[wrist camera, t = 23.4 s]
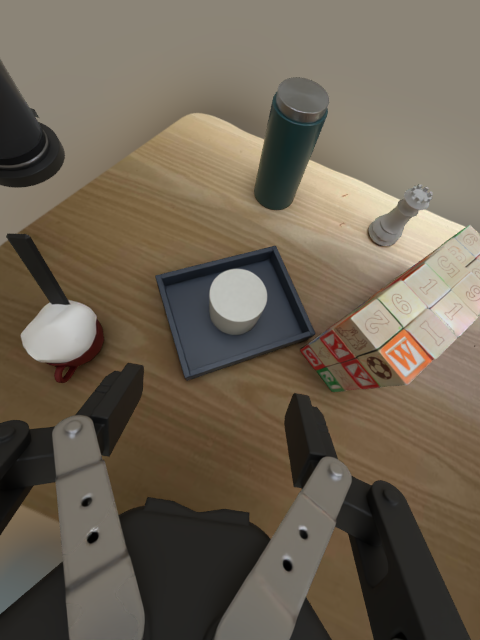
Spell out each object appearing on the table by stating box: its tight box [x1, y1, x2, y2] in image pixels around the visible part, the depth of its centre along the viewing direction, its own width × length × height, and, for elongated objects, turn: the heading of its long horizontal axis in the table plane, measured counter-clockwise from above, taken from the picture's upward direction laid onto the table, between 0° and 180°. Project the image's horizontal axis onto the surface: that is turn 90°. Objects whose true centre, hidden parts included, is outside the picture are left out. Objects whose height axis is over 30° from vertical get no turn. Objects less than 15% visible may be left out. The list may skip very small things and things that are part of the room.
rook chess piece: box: [369, 184, 433, 246], centre depth 35 cm, size 4×4×8 cm
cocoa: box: [6, 234, 104, 383], centre depth 23 cm, size 10×6×12 cm, turn 160°
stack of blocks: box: [300, 225, 480, 392], centre depth 28 cm, size 21×6×12 cm, turn 126°
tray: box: [155, 246, 315, 381], centre depth 31 cm, size 15×12×2 cm
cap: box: [209, 269, 267, 335], centre depth 29 cm, size 6×6×5 cm
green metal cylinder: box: [254, 77, 329, 210], centre depth 33 cm, size 6×6×13 cm
